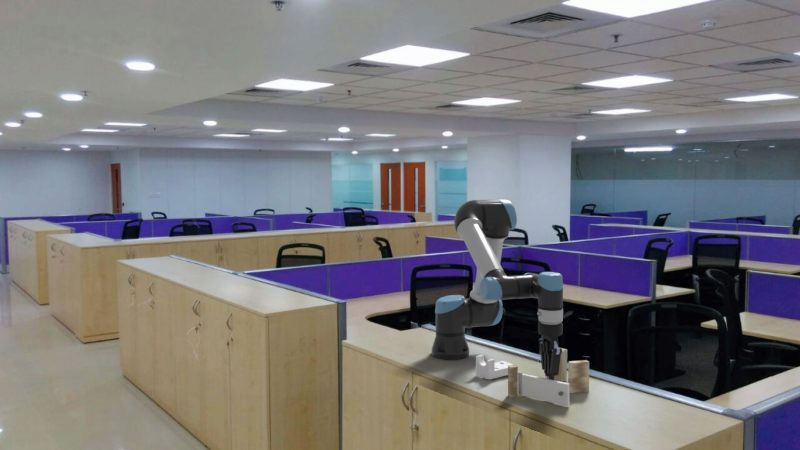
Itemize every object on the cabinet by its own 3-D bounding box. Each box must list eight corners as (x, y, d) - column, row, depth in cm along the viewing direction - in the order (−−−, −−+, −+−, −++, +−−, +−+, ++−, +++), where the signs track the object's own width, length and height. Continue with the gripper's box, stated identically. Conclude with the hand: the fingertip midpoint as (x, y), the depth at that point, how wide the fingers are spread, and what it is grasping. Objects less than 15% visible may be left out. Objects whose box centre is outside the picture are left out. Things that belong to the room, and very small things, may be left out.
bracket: (488, 382, 211) (488, 360, 210) (475, 376, 217) (475, 356, 216) (516, 375, 218) (516, 354, 217) (503, 370, 224) (503, 350, 223)
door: (515, 395, 195) (515, 373, 195) (519, 393, 197) (519, 371, 197) (566, 407, 184) (566, 384, 184) (569, 405, 186) (569, 382, 186)
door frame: (510, 398, 194) (510, 367, 194) (507, 395, 197) (507, 364, 196) (589, 392, 198) (589, 362, 198) (585, 389, 201) (585, 359, 200)
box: (547, 380, 211) (547, 348, 210) (553, 377, 214) (554, 346, 213) (561, 383, 207) (561, 351, 207) (567, 380, 211) (567, 348, 210)
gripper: (531, 317, 197) (531, 388, 198) (547, 327, 184) (546, 403, 186) (553, 316, 198) (552, 387, 200) (570, 326, 185) (569, 401, 187)
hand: (549, 394), depth 193 cm, fingers closed
